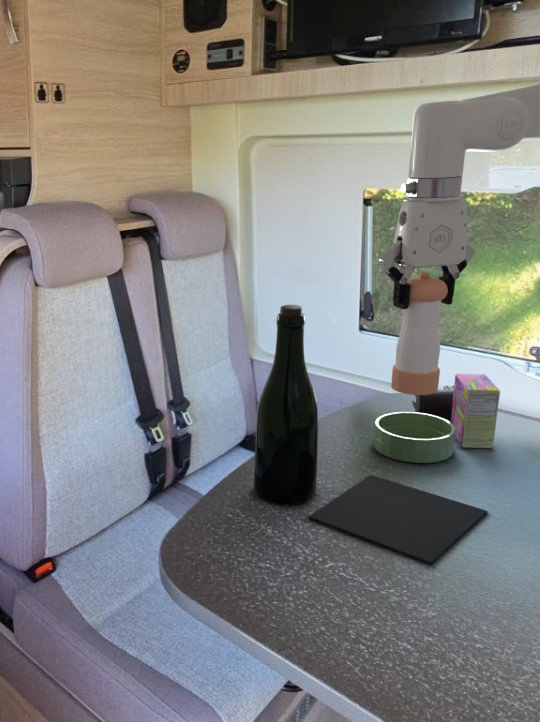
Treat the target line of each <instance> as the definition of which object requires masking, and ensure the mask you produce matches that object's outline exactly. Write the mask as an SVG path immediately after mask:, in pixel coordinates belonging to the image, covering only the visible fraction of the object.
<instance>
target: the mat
mask: <svg viewBox="0 0 540 722" xmlns="http://www.w3.org/2000/svg"><path fill="white" fill-rule="evenodd" d="M487 514H488V510H487V509H482V508H479V507H476V506H473V505H470V504H466V503H463V502H460V501H457V500H454V499H450V498H447V497H444V496H440V495H438V494H434V493H431V492H427V491H424V490H422V489H419V488H418V489H417V488H415V487H412V486H409V485H405V484H403V483H399V482H396V481H392V480H389V479H386V478H383V477H380V476H376V475H373V474H370V475H368V476H367V477H366V478H364V479H363V480H361V481H359V482H358V483H357V484H355V485H354V486H352V487H351V488H349V489H348V490H346V491H344V492H343V493H341V494H340V495H339V496H337V497H335V498H334V499H332V500H331V501H329V502H328V503H326V504H325V505H324V506H322V507H320V508H319V509H317V510H316V511H315V512H313V513H312V514H310V515H309V516H308V519H309V520H311V521H313V522H316V523H319V524H322V525H324V526H326V527H329V528H332V529H333V530H337V531H340V532H342V533H345V534H347V535H351V536H353V537H356V538H358V539H361V540H362V541H366V542H368V543H371V544H374V545H376V546H379V547H381V548H384V549H387V550H389V551H392V552H395V553H398V554H400V555H403V556H405V557H408V558H410V559H413V560H416V561H418V562H421V563H424V564H426V565H429V566H432V565H433V564H434V563H435V562H436V561H438V560H439V559H440V558H441V557H442V556H443V555H444V554H445V553H446V552H447V551H448V550H449V549H450V548H451V547H453V546H454V545H455V544H456V543H458V541H459V540H460V539H462V537H463V536H465V534H467V533H468V532H469V531H470V530H471V529H472V528H473V527H475V525H477V524H478V523H479V522H480V521H481V520H482V519H483V518H484V517H485V516H486V515H487Z"/></svg>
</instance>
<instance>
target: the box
mask: <svg viewBox="0 0 540 722" xmlns="http://www.w3.org/2000/svg"><path fill="white" fill-rule="evenodd" d="M453 386H454V394H453V405H452V415H451V420H450V422H451V423H452V424H453V425H454V426H455V428H456V433H455V439H456V440H457V442H458V443H459V445H460V447H461V448H463V449H464V448H465V449H466V448H467V449H493V448H494V442H495V433H496V426H497V419H498V411H499V405H500V404H499V403H500V397H501V390H500V389H499V388H498V387H497V386H496V385H495V384H494V383H493V382H492V380H491V379H490V378H489V377H488V376H487V375H486V374H485V373H456V374H455V375H454V384H453Z"/></svg>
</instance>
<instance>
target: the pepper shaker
mask: <svg viewBox="0 0 540 722" xmlns="http://www.w3.org/2000/svg"><path fill="white" fill-rule="evenodd" d="M407 283H408V284H410V297H409V307H408V308H407V309H403V314H402V322H401V323H402V324H401V327H400V331H399V335H398V339H397V343H396V348H395V350H396V351H395V353H396V354H395V363H394V364H393V365H392V371H391V383H390V388H391V389H392V390H394V391H395V392H398V393H400V394H405V395H411V396H415V395H427V394H432V393H435V392H437V391H438V390H439V383H440V376H441V375H440V374H441V369H440V367H439V361H440V355H441V341H440V316H441V307H442V303H441V300H442V299H444V298H445V297H446V295H447V293H448V289H447V285H446V284H445V282H444V281H442V280H440V279H439V277H438V278H437V277H432V276H431V273H428V272H421V273H420V275H419V276H415V277H414V276H413V277H410V278H409V280H408V281H407Z"/></svg>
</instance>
